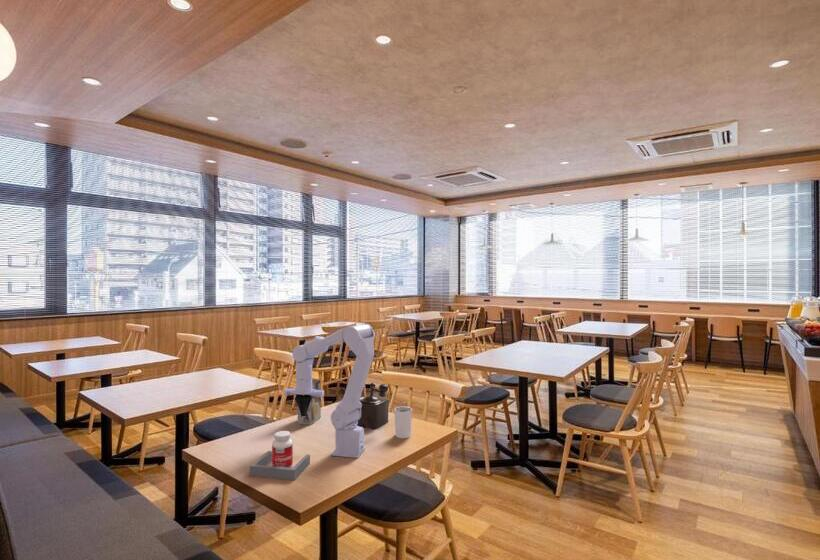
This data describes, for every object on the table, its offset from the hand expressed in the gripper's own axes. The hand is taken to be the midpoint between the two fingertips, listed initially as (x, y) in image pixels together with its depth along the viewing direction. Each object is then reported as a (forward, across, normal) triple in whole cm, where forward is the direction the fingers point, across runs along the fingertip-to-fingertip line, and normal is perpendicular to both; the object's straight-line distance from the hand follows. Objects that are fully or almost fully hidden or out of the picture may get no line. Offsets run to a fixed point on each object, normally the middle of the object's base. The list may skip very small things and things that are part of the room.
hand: (303, 415), depth 158 cm
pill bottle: (+10, -3, +22) cm, 24 cm away
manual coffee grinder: (+10, -21, -22) cm, 32 cm away
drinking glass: (+10, -34, -13) cm, 38 cm away
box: (+9, -2, +22) cm, 24 cm away
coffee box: (+10, +7, -21) cm, 24 cm away
